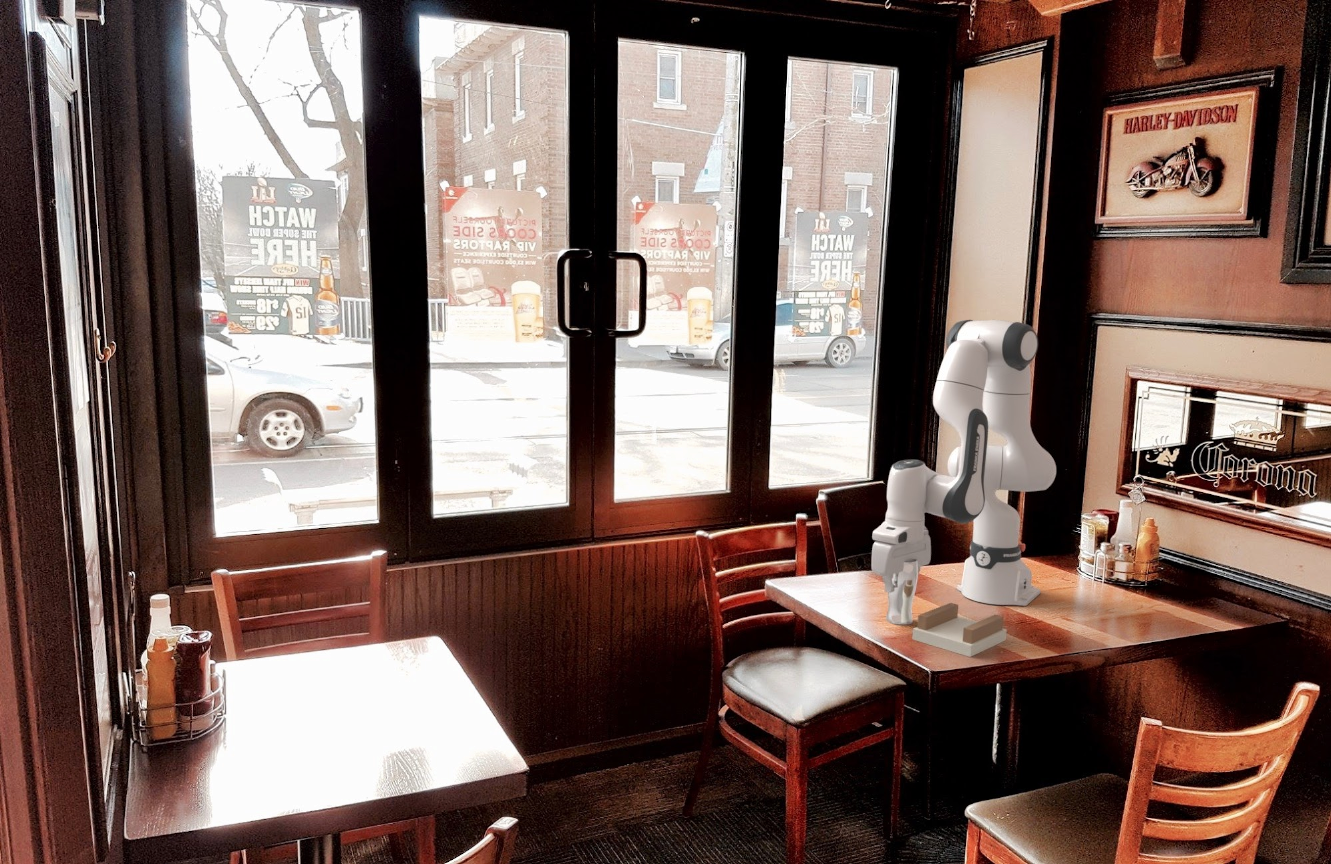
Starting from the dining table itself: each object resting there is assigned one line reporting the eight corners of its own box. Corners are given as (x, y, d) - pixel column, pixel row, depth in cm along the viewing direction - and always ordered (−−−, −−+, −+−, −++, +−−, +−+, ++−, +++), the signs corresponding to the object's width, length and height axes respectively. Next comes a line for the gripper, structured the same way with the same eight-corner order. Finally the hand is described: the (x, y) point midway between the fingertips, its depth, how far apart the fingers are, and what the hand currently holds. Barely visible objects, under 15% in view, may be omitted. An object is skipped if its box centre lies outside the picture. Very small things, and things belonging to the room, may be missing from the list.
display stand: (949, 624, 230) (950, 601, 229) (1005, 640, 220) (1007, 616, 219) (912, 639, 219) (913, 615, 218) (970, 657, 209) (972, 632, 208)
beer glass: (915, 627, 227) (919, 563, 225) (884, 624, 229) (888, 561, 227) (913, 617, 234) (917, 556, 232) (883, 614, 235) (887, 553, 233)
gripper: (915, 522, 238) (912, 578, 239) (868, 533, 223) (864, 592, 225) (939, 527, 233) (935, 584, 235) (892, 538, 219) (888, 598, 220)
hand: (900, 588), depth 230 cm, fingers open, 8 cm apart
